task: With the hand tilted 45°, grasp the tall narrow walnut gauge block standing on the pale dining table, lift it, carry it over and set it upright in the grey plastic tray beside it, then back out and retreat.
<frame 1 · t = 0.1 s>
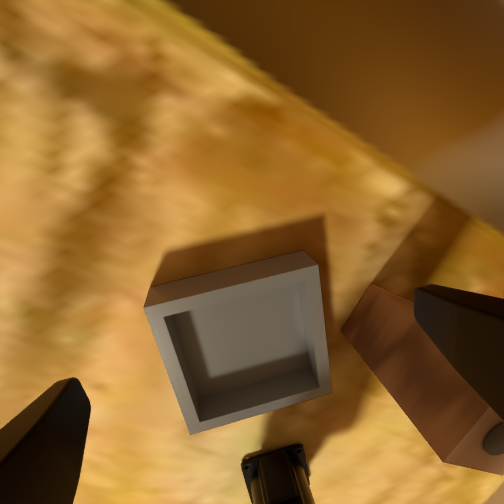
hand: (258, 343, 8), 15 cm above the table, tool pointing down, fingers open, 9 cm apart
tray: (243, 332, 25), on the table
gauge block: (377, 315, 27), on the table
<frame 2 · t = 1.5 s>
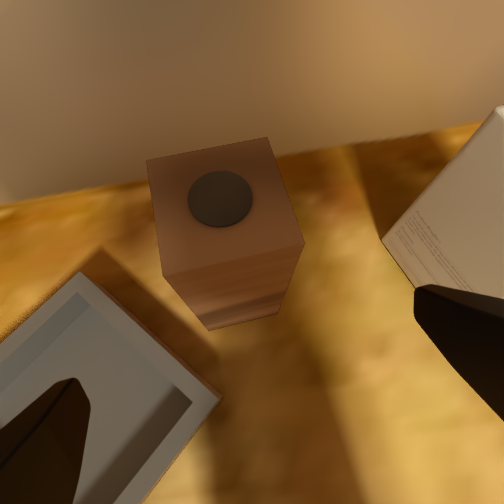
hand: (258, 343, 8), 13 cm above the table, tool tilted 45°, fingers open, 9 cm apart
tray: (89, 413, 19), on the table
supplement box: (442, 259, 24), on the table
gauge block: (235, 289, 22), on the table
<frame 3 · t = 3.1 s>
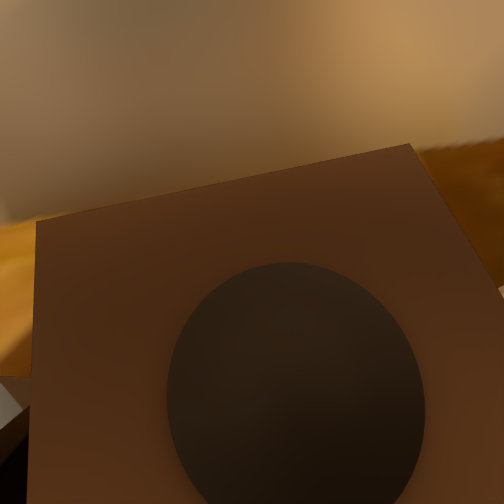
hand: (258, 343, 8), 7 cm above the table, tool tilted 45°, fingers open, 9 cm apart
gauge block: (260, 384, 14), on the table
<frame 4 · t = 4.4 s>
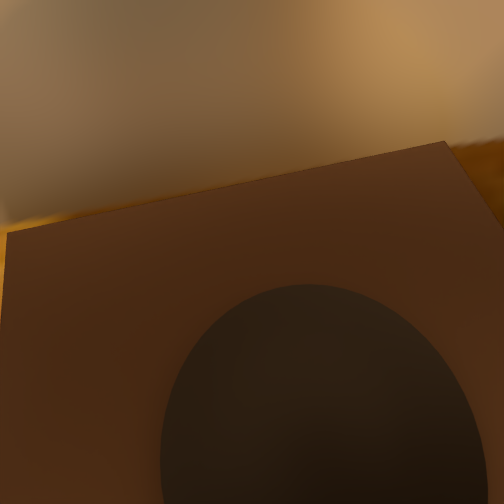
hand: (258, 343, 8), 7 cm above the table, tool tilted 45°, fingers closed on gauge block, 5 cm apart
gauge block: (263, 393, 13), on the table, touching gripper
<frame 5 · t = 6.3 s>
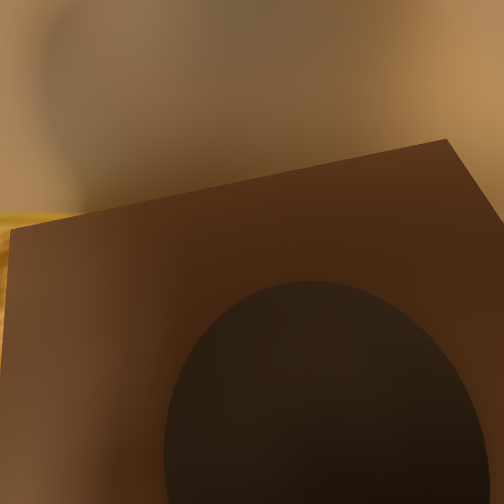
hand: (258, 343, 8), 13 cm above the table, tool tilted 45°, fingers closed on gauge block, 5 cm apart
gauge block: (263, 392, 13), point 7 cm above the table, touching gripper
when the fingers open (8 cm above the table, at t = 8.5 s): gauge block stays where it is, resting on tray.
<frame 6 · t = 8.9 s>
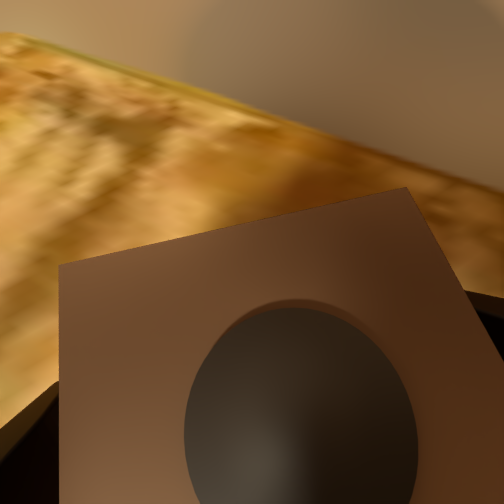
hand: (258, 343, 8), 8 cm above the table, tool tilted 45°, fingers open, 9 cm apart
gauge block: (261, 392, 14), point 1 cm above the table, touching tray
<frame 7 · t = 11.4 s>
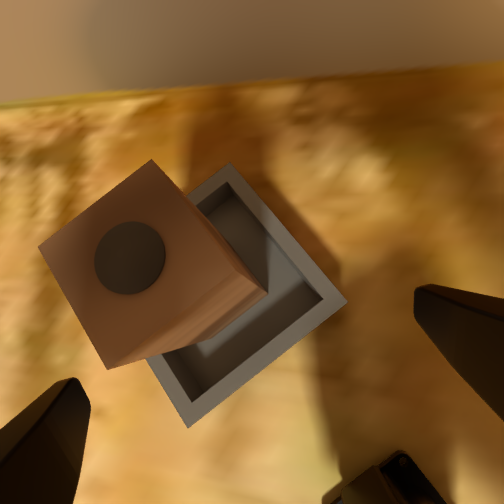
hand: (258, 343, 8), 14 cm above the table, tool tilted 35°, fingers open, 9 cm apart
tray: (221, 288, 22), on the table
gauge block: (219, 287, 22), point 1 cm above the table, touching tray
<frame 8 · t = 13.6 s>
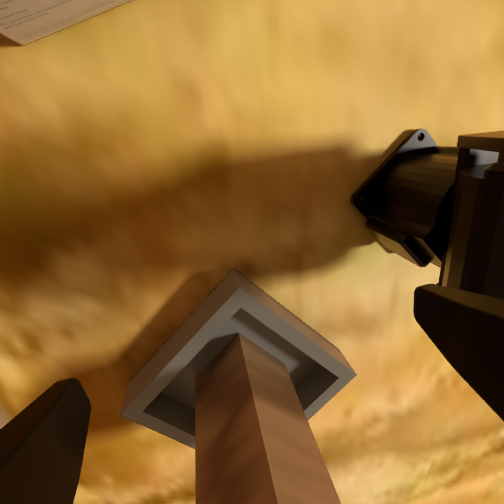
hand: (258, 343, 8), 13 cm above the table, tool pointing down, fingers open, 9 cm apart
tray: (239, 364, 24), on the table
gauge block: (240, 370, 24), point 1 cm above the table, touching tray
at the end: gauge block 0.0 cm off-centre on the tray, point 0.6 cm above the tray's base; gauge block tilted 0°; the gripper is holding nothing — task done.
